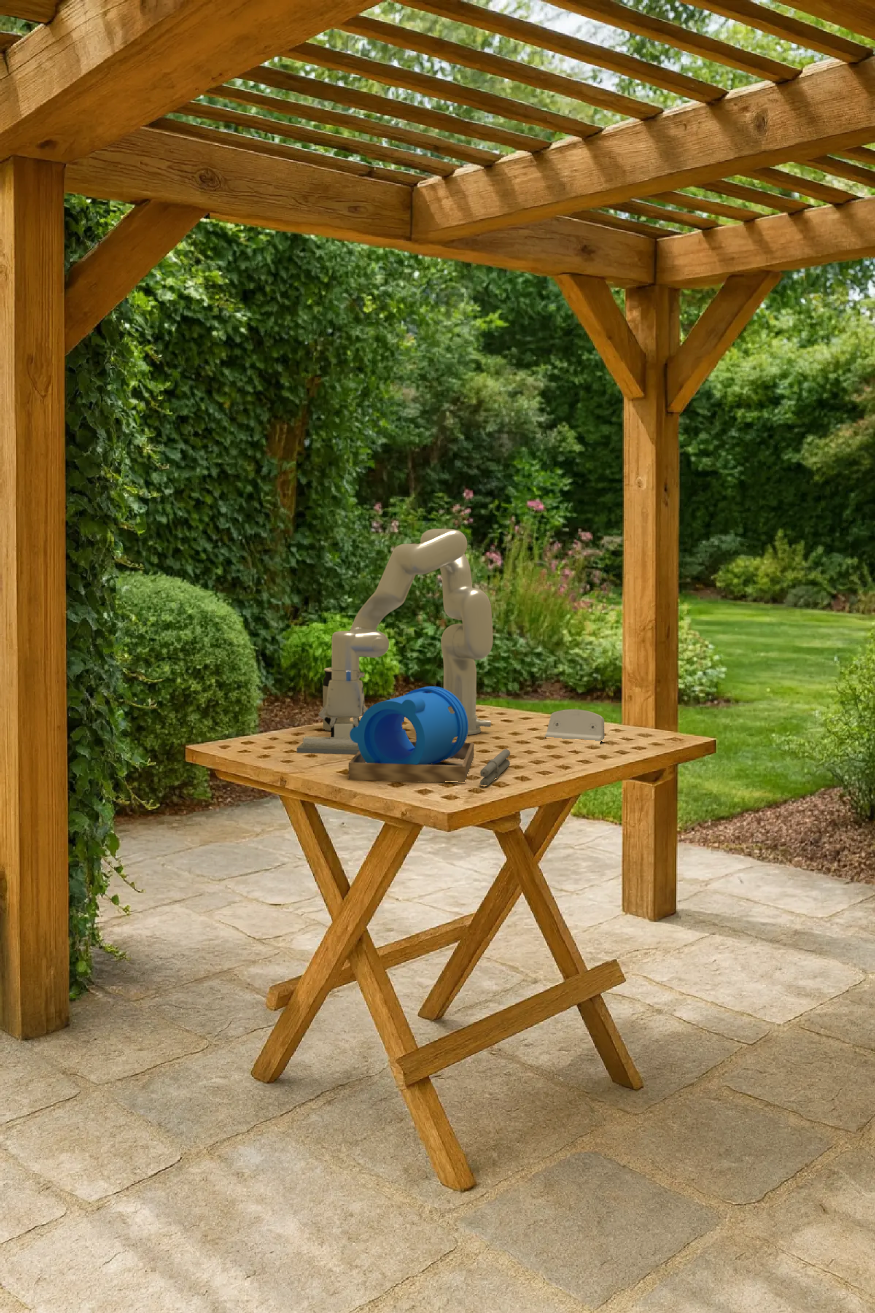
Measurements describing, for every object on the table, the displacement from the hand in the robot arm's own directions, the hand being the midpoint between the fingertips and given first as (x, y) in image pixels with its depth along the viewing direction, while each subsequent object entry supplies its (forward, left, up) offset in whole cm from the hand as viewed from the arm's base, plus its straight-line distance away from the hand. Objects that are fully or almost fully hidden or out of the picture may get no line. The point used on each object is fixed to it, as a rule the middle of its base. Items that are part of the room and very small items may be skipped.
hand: (345, 740), depth 335 cm
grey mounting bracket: (-64, -13, -1) cm, 65 cm away
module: (0, 0, -1) cm, 1 cm away
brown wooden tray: (-23, +33, -1) cm, 40 cm away
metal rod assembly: (-44, +40, -1) cm, 59 cm away
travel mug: (+6, -20, -1) cm, 21 cm away
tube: (-22, +34, -1) cm, 41 cm away
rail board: (-1, +12, -1) cm, 12 cm away
